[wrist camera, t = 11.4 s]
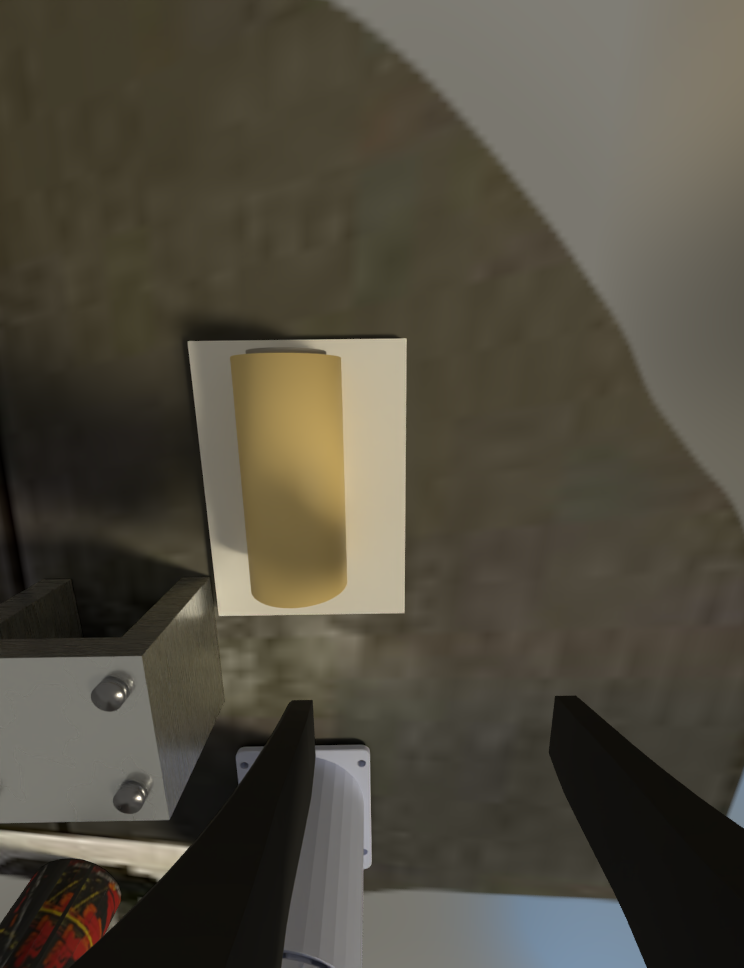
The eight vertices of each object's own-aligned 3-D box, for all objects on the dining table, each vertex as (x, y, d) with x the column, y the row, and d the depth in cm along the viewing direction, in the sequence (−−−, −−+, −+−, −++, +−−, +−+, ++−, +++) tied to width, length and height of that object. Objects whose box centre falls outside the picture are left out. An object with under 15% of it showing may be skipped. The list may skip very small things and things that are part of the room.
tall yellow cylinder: (349, 562, 20) (344, 607, 16) (265, 563, 20) (237, 609, 16) (344, 356, 18) (336, 344, 14) (248, 357, 18) (211, 346, 14)
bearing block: (224, 701, 23) (164, 830, 16) (71, 704, 23) (-54, 834, 16) (209, 576, 21) (135, 663, 14) (43, 579, 21) (-111, 667, 14)
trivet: (403, 607, 22) (404, 613, 21) (223, 609, 21) (218, 615, 21) (405, 340, 18) (406, 338, 18) (193, 342, 18) (187, 341, 18)
